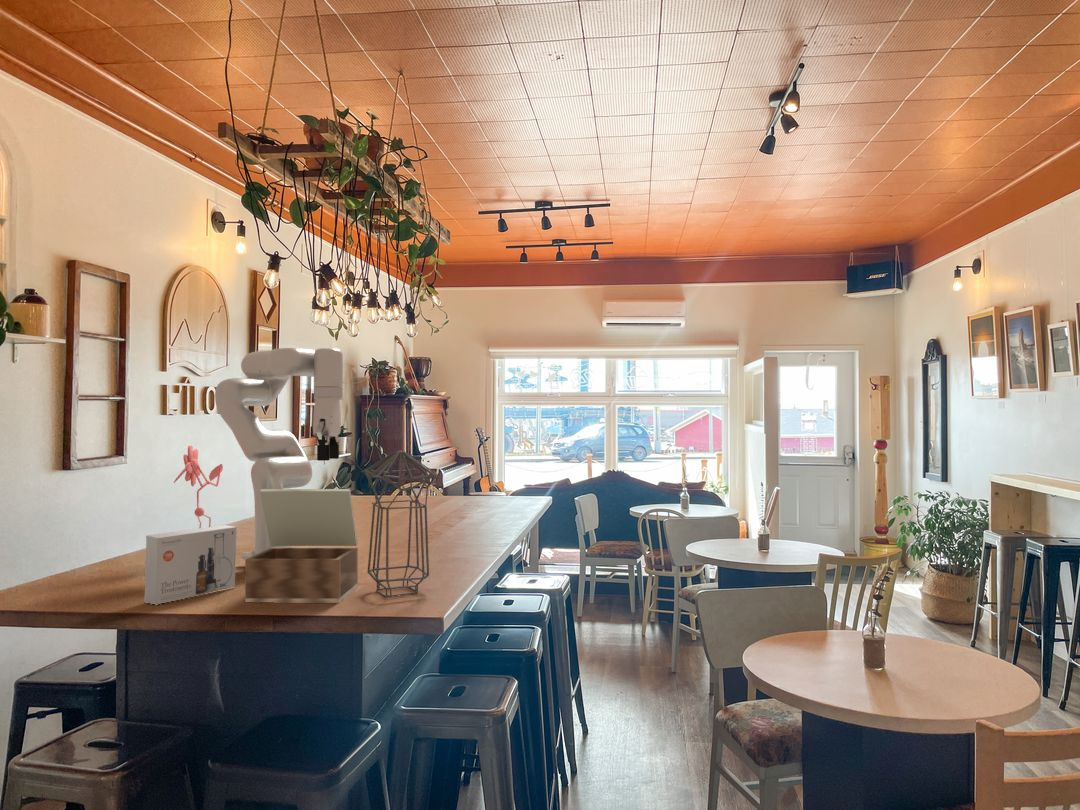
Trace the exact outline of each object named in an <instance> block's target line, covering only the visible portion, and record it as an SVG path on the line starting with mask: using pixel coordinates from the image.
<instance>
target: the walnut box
mask: <svg viewBox="0 0 1080 810" xmlns="http://www.w3.org/2000/svg"><path fill="white" fill-rule="evenodd" d="M358 554H359V553H358V547H289V548H270V549H268V550H265V551H263V552H261V553H259V554H257V555H255V556H252V557H250V558H248V559H244V561H245V562H244V564H245V566H244V567H245V569H244V570H245V571H244V572H245V573H244V575H245V576H244V577H245V580H244V581H245V583H244V586H245V588H244V590H245V594H244V595H245V597H244V599H245V600H244V601H245V602H274V603H273V604H284V603H286V604H289V603H290V604H294V603H295V604H297V603H298V604H302V603H304V604H308V603H309V604H316V603H317V604H320V603H322V604H339V603H341V602H342V601H343V600H344V599H346V598H347V597H348V596H349V595H350V594H352V593H353V591H355V590H356V589H357V588H358V587H359V585H358V584H359V583H358V579H359V578H358V577H359V576H358V575H359V574H358V572H359V571H358V570H359V567H358V565H359V564H358V560H359V559H358V556H359V555H358Z"/></svg>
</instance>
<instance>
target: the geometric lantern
mask: <svg viewBox="0 0 1080 810" xmlns="http://www.w3.org/2000/svg"><path fill="white" fill-rule="evenodd" d="M397 461H398V469H397V470H394V467H395V465H396V463H397ZM403 462H404V465H405V468H406V469H404V470H403ZM408 465H409V466H410V468H409V466H408ZM414 466H415V468H414ZM374 469H375V470H374ZM416 471H419V472H420V476H414V477H413V474H414V473H415V472H416ZM360 473H364V474H365V476H366V478H367V480H368V488H372V491H373V493H374V498H375V501H374V502H371V505H372V514H371V526H370V537H369V538H370V539H369V552H368V563H367V565H368V566H367V573H368V575H369V576H370V577H371V578H372V579H373V580H374V582H375V583H376V592H377V593H378V592H379V594H380V595H382V596H383V597H385V598H391V597H392V596H393V597H399V596H398V595H400V596H406V595H405V594H408V595H413V593H415V594H418V593H419V585H420V584H421V583H423V581H424V580H426V579H427V578H428V577H429V576H430V566H429V565H430V562H429V560H430V559H429V537H428V536H429V535H428V534H429V533H428V532H429V531H428V508H427V507H428V506H427V502H428V501H427V500H428V493H429V492H428V491H429V487H431V485H432V484H433V483H434V481H435V480H436V479H437V477H438V476H439V474H438V473H436V472H435V471H434V470H433V469H431V468H429V467H428V466H427V465H425V464H423V463H422V462H421V461H419V460H418V459H416V458H415V457H413V456H412V455H411V454H409V453H408V452H406V451H404V450H395V451H394V452H391V453H390V454H387V455H386V456H384V457H383V458H382V459H380V460H378V461H377V462H375V463H373V464H372V465H370V466H368V467H366V468H365V469H363V470H361V471H360ZM391 473H398V474H397V476H396V475H391ZM403 473H408V474H407V475H406V476H405V477H404V478H401V476H402V474H403ZM381 475H382V476H381ZM372 479H374V484H373V481H372ZM379 479H380V480H381V481H384V482H385V484H384V486H383V488H382V491H381V493H380V495H379V496H378V492H377V491H376V487H377V484H378V481H379ZM392 479H397V482H395V481H392ZM419 479H420V480H421V481H420V482H417V484H414V485H413V483H412V481H413V480H419ZM405 481H407V482H409V484H410V487H405V486H404V485H403V483H404V482H405ZM388 484H390V485H392V486H394V487H395V488H396V489H398V490H399V491H398V493H397V494H396V495H395V497H394V498H393V499H392V500H386V501H385V500H382V501H381V499H382V498H383V497H382V496H383V495H384V492H385V490H386V489H387V486H388ZM419 486H421V487H420V489H419V492H418V493H417V494H416V492H415V489H416V488H418V487H419ZM401 487H402V488H401ZM424 487H426V491H425V492H426V493H425V501H424V503H422V502H420V501H419V497H420V495H421V494H422V491H423V489H424ZM410 490H411V491H412V493H413V496H414V499H413V498H412V497H411V495H410V493H409V492H408V491H410ZM404 491H405V493H406V494H407V495H408V496H409V498H410V499H411V500H410V499H405V500H396V499H397V498H398V496H399V494H401V492H404ZM405 502H407V503H408V502H409V506H400V507H399V506H395V507H391V505H392V504H393V503H405ZM385 503H389V505H387V507H385V506H382V504H385ZM413 504H415V506H413ZM376 507H377V515H376V525H375V513H376ZM398 509H399V510H401V509H405V510H406V509H409V515H408V516H409V519H408V539H407V542H408V543H407V559H406V560H407V562H406V565H399V566H389V542H390V541H389V537H390V536H389V528H390V527H389V525H390V524H389V521H390V519H389V517H390V516H389V511H390V510H398ZM413 509H414V510H415V512H414V513H415V537H416V538H415V539H416V540H415V541H416V542H415V544H416V566H415V565H411V564H410V559H411V537H412V513H413ZM418 509H419V512H418ZM423 509H424V525H423ZM384 510H385V511H386V512H385V513H386V514H385V515H386V516H385V517H386V518H385V520H386V521H385V529H386V530H385V531H386V533H385V534H386V535H385V541H386V542H385V550H386V551H385V555H386V556H385V558H386V559H385V567H380V560H381V559H380V558H381V543H382V529H383V520H384V519H383V518H384V517H383V516H384ZM418 513H419V517H418ZM418 518H419V519H418ZM374 525H375V536H374ZM419 525H420V528H419ZM424 527H425V528H424ZM423 528H424V529H423ZM419 529H420V546H421V547H420V548H421V550H420V548H419ZM424 530H425V532H424ZM424 533H425V534H424ZM424 535H425V552H424ZM373 538H374V539H375V540H374V551H372V549H373ZM419 551H421V567H420V557H419V555H420V554H419ZM372 552H373V561H372ZM424 554H425V555H426V557H425V555H424ZM425 558H426V571H425ZM371 561H372V568H371ZM408 568H409V569H414V570H413V571H412V572H411V574H409V576H408V577H406V576H407V573H408V572H407V571H408ZM395 569H398V570H399V569H405V571H404V576H403V577H399V578H389V570H395ZM383 570H384V571H385V578H384V579H382V578H381V579H380V578H379V574H380V573H379V571H383ZM417 570H418V571H420V572H421V574H422V576H421V577H419V576H417V577H412V575H413V574H415V572H416V571H417ZM415 580H416V581H417V580H419V581H418V582H415ZM401 581H402V585H398V586H390V582H401ZM405 581H406V585H405ZM385 582H386V584H387V586H388V587H386V586H385V585H384V584H383V583H385ZM409 582H411V583H413V585H409ZM380 587H382V588H380ZM408 587H409V588H408ZM405 588H406V589H407V588H408V589H411V590H412V591H413V592H405V593H397V594H392V593H393V590H398V589H405ZM383 589H384V590H385V593H383V592H381V591H383ZM388 590H389V595H388Z"/></svg>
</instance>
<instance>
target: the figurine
mask: <svg viewBox="0 0 1080 810" xmlns="http://www.w3.org/2000/svg"><path fill="white" fill-rule="evenodd" d="M193 447H194V446H193V445H192V444H191V445H188V446H187V454H186V453H184V454H183V459H182V460H183V464H184V465H185V467H184V469H182V470H181V471H180V472H179V474H178V476H176V478H175V479H174V481H173V483H174V484H175V483H176V482H177V481H178V480H179V479H180V478H181V477H182V475H184V474H185V475H184V476H185V477H184V481H185V482H189V481H190V486H191V487H194V486H195V485H196V483H197V481H198V483H199V485H200V488H198V489H197V491H196V509H194V515H195V517H196V518H197V520H198V522H199V527H198V529H199V528H202V521H201V519H200V517H202V516H204V517H205V518H208V520H209V521H208V527H211V521H212V520H211V519H212V518H211V517H210V516H208V515H206V514H205V510H204V509H203V508H202V507H200V505H199V503H200V501H199V500H200V498H199V497H200V496H199V495H200V491H201V490H202V489H204V488H205V487H206V486H207V485H210V486H211V485H212V486H214V487H218V486H219V483H220V479H221V478H220V477H221V473H222V471H223V470H224V469H223V467H224V466H223V464H222V463H220V464H218V465H216V466H215V467H214V468H213V469H212V470H211V471H210V473H209V475H208V478H209V480H208V479H207V477H206V476H205V474H204V473H203V471H202V469H201V466H200V464H199V449H198V448H195V449H194V448H193ZM201 475H202V477H203V479H204V481H205V482H203V484H202V482H201V480H200V477H199V476H201ZM216 478H217V480H216V483H213V482H212V481H214V479H216Z"/></svg>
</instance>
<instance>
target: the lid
mask: <svg viewBox="0 0 1080 810" xmlns="http://www.w3.org/2000/svg"><path fill="white" fill-rule="evenodd" d="M260 495H261V500H262V505H263V510H264V515H265V521H266V526H267V531H268V536H269V541H270V546H289V547H357V545H358V536H357V530H356V529H357V528H356V522H355V515H354V508H353V502H352V501H353V500H352V494H351V488H297V489H296V488H288V489H261V490H260Z"/></svg>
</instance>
